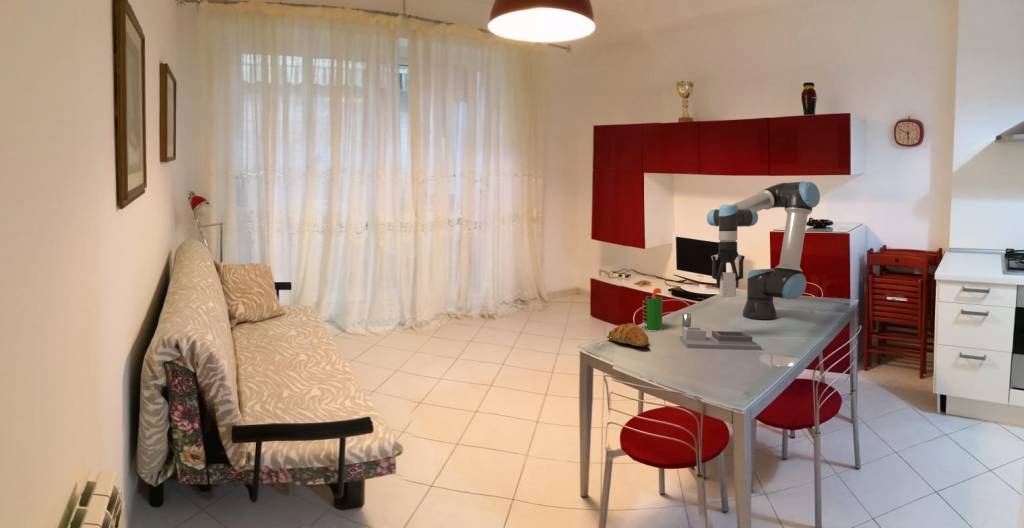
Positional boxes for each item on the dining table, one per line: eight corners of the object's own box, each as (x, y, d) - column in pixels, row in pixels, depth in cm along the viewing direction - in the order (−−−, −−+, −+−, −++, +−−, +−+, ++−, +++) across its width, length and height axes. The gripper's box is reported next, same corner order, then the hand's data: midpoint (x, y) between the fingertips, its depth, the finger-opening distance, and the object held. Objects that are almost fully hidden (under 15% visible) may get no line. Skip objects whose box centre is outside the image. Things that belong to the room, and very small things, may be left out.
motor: (638, 330, 285) (639, 286, 284) (657, 330, 286) (659, 287, 285) (645, 334, 275) (646, 289, 274) (665, 334, 276) (666, 289, 274)
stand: (747, 341, 261) (748, 328, 261) (760, 349, 243) (761, 336, 243) (679, 339, 264) (679, 326, 263) (687, 347, 246) (687, 333, 246)
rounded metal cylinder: (689, 336, 272) (690, 313, 271) (691, 337, 268) (691, 314, 268) (681, 335, 272) (682, 313, 272) (682, 337, 269) (683, 314, 268)
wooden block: (731, 295, 270) (731, 272, 269) (735, 297, 264) (735, 273, 263) (719, 295, 270) (719, 272, 269) (723, 297, 264) (723, 273, 263)
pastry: (600, 340, 260) (601, 321, 259) (621, 337, 268) (621, 319, 268) (640, 348, 244) (640, 328, 244) (660, 345, 252) (661, 325, 252)
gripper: (747, 240, 268) (746, 294, 270) (704, 240, 270) (703, 294, 272) (752, 241, 260) (751, 296, 262) (708, 241, 262) (707, 296, 264)
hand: (727, 295), depth 267 cm, fingers closed on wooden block, 5 cm apart
